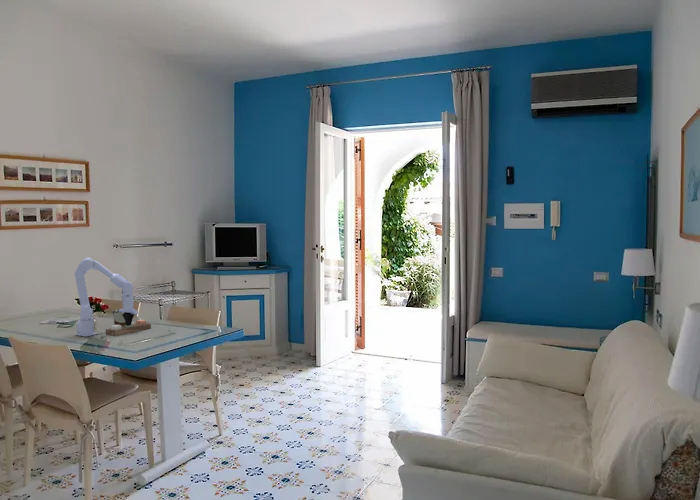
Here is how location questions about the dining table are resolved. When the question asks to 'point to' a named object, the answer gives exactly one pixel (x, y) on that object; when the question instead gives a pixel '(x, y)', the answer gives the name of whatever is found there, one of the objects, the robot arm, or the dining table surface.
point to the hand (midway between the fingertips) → (128, 325)
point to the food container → (118, 318)
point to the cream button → (115, 327)
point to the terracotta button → (141, 322)
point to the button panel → (128, 329)
